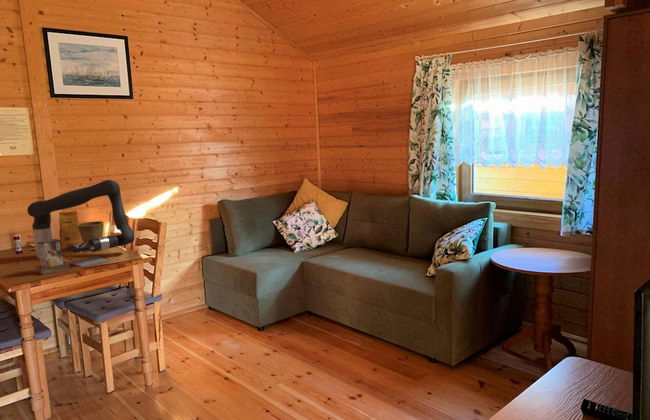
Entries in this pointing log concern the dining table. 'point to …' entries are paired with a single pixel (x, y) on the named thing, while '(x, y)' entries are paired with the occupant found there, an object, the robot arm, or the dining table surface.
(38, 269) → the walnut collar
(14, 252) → the dining table surface
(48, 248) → the coffee box
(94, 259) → the rubber mat
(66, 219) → the coffee package
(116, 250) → the dining table surface
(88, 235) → the plant pot
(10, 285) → the dining table surface
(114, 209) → the robot arm
